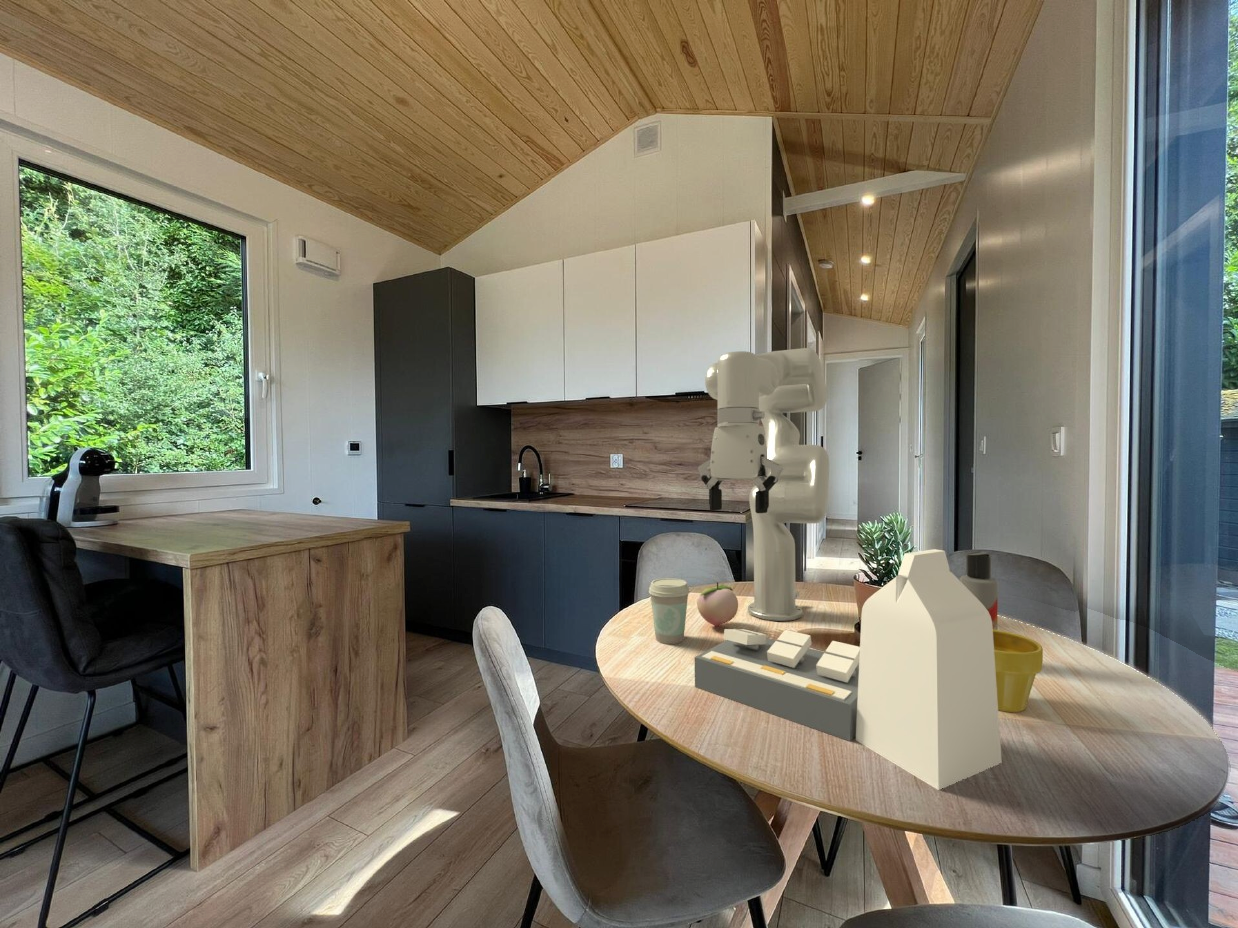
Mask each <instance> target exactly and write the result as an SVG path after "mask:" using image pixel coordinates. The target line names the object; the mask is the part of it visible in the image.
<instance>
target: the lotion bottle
mask: <svg viewBox="0 0 1238 928" xmlns="http://www.w3.org/2000/svg"><path fill="white" fill-rule="evenodd" d="M965 571H966V573H965V575H961V576H960V578H959V581H960V582H961V583H962V584H963V585H964V586H965V587H966V588H967V589H968V590H969V591H970V592H971V593H972V594H973V595H974V596H975V597H976V598H977V599H978V600H979V601H980V602H981V603H982V604H983V605H984V606H985V608H986V609H987V611H988V612H989V614H990V617H991V620H992V627H993V630H999V628H998V617H999V616H998V612H999V610H998V606H999V605H998V600H999V599H998V593H999V591H998V590H999V589H998V580H997V579H995V578H993V577H992V556H991V555H990V554H989V552H980V551H979V552H977V551H975V552H974V551H973V552H969V553H967V554H965Z"/></svg>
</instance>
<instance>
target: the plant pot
mask: <svg viewBox="0 0 1238 928" xmlns="http://www.w3.org/2000/svg"><path fill="white" fill-rule="evenodd" d="M993 642H994V657H995V671H996V686H997V700H998V712H999V711H1000V712H1006V713H1019V712H1020V713H1021V712H1023V711H1025V709H1026V708H1027V705H1028V703H1029V698H1030V694H1031V692H1032V688H1033V686H1034V680H1035V678H1036V675H1037V674H1038V673H1040V672H1042V670H1043V663H1044V662H1043V660H1044V659H1043V657H1044V649H1043V646H1042V645H1041V644H1040V643H1039V642H1037V641H1036V640H1034V639H1032V638H1030V637H1028V636H1024V635H1022V634H1017V633H1014V632H1010V631H1005V630H1004V631H1003V630H999V629H998V630H993Z"/></svg>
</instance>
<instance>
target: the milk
mask: <svg viewBox="0 0 1238 928" xmlns="http://www.w3.org/2000/svg"><path fill="white" fill-rule="evenodd" d="M950 570H951V569H950V566H949V562H948V558H947V554H946V551H945V550H941V549H938V548H937V549H936V548H934V549H926V550H920V551H913V552H912V551H911V552H906V553H904V555H903V558H902V561H901V564H900V567H899V570H898V574H897V576H894V578H893V579H891V580H890V581H889V582H887V583H886V584H885V585H884V586H882V587H881V588H880V589H879V590H877V591H876V592H874V593H873V594H871V596H869V597H868V598H867V599H866V600H865V602H864V603H863V605H862V608H861V615H860V617H861V618H860V640H859V642H860V643H859V647H860V658H859V680H858V701H857V723H856V735H855V741H856V742H857V743H859V744H861V745H863V746H864V747H866V748H867V749H870V750H872V752H874V753H876V754H878V755H880V756H881V757H882V758H884V759H886V760H888V761H890V762H891V763H893V764H895V765H896V766H898V767H899V768H901V769H903V770H904V771H906V772H908V773H909V774H911V775H913V776H914V777H916V778H917V779H919V780H921V781H923V782H924V783H926V784H928V786H930V787H933V788H934V789H935V790H937V791H940V790H942V788H943V789H945V788H947V787H949V785H950V786H952V785H954V784H956V782H957V783H959V782H961V781H963V780H962V779H964V780H965V779H968V778H970V777H972V776H973V777H974V775H977V774H980V773H982V772H984V771H987V770H989V769H991V768H993V766H994V767H996V766H998V765H1000V764H999V763H1001V764H1002V763H1003V762H1002V761H1003V760H1002V746H1001V745H1002V744H1001V732H1000V731H1001V730H1000V718H999V710H998V700H997V686H996V671H995V657H994V642H993V627H992V620H991V617H990V614H989V612H988V611H987V609H986V608H985V606H984V605H983V604H982V603H981V602H980V601H979V600H978V599H977V598H976V597H975V596H974V595H973V594H972V593H971V592H970V591H969V590H968V589H967V588H966V587H965V586H964V585H963V584H962V583H961V582H960V578H958V577H957V576H956V575H955V574H954V573H953V572H952V571H950ZM995 765H996V766H995ZM990 767H991V768H990ZM988 768H989V769H988ZM986 769H987V770H986ZM979 772H980V773H979ZM967 777H968V778H967ZM958 781H959V782H958Z"/></svg>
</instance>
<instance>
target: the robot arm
mask: <svg viewBox="0 0 1238 928" xmlns="http://www.w3.org/2000/svg"><path fill="white" fill-rule="evenodd" d="M820 359H821V358H820V357H819V355H818V353H817V352H816V351H815V350H814V349H812V348H808V347H802V348H794V349H793V348H792V349H785V350H784V349H783V350H773V351H767V352H764V353H759V354H756V353H754V352H751V351H741V350H740V351H739V350H738V351H730V352H726V353H723V354H722V355H720V356H719V358H718V360H717V362H715V363H713V364H711V365H710V366H709V368H708V369H707V370H706V374H705V383H704V384H705V388H706V391H707V394H708V395H709V396H710V398H712V399H713V400H715V401H717V423H716V424H717V427H714V431H713V435H712V441H711V448H710V449H711V450H710V458H709V459H708V460H707V461H705V462H703V463H702V464H699V465H698V467H697V470H698V473H699V476H700V478H701V481H702V482H703V483H704V485H705V487H706V489H707V490H708V504H709V510H710V511H720V510H722V508H723V505H722V503H723V502H722V501H723V498H722V497H723V495H722V493H723V491H722V489H721V488H720V487H721V486H722V484H723V483H724V482H725V481H726V480H729V481H752V482H753V483H754V486H753V487H752V488H751V490H750V492H749V495H748V496H749V497H748V499H749V500H748V503H749V509H750V514H751V521H752V531H753V534H752V535H753V589H754V590H753V591H754V592H753V594H754V595H753V598H754V599H753V601H754V602H752V603H750V604H748V606H747V612H748V613H749V614H750V615H751V616H752V617H755V618H759V619H762V620H767V621H774V622H775V621H777V622H783V621H784V622H786V621H793V620H798V619H800V618H801V617H803V609H802V608H801V607H800V606H798V605H796V599H797V598H798V599H799V597H800V592H799V591H798V590H797V589H796V543H795V541H796V540H795V538H794V536H793V535H792V533H791V531H790V530H789V529H788V528H787V526H786V525H785V524H786V523H790V524H791V523H792V524H818V523H821V522H823V520H824V519H825V518H826V516H827V515H826V514H827V510H828V498H829V497H828V495H829V494H828V493H829V482H830V481H829V480H830V459H829V454H828V451H827V450H826V449H825V448H824V447H822V445H821V446H820V445H818V444H800V438H801V435H800V434H801V433H800V430H799V429H798V427H797V426H796V425H795V424H794V422H792V421H791V420H790V419H789V418H788V417H786V416H785V415H784V414H786V413H792V414H794V413H809V412H810V413H812V412H818V411H821V410H822V409H823V408H825V406H826V403H827V401H828V393H827V392H828V390H827V385H826V380H825V375H824V369H823V366H822V362H821V360H820ZM760 421H761V422H762V425H760ZM709 469H710V473H709Z"/></svg>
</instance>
